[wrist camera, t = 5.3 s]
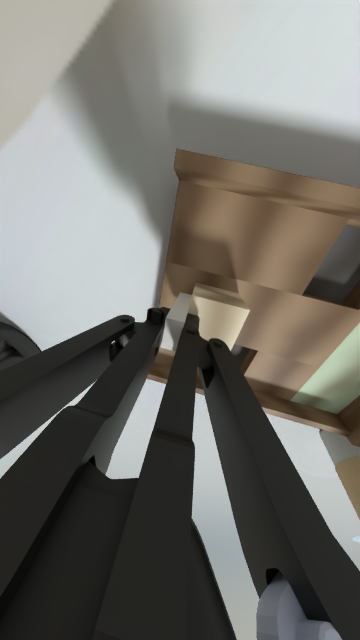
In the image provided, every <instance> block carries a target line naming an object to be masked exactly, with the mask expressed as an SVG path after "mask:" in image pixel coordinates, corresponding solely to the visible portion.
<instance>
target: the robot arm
mask: <svg viewBox="0 0 360 640" xmlns="http://www.w3.org/2000/svg"><path fill="white" fill-rule="evenodd" d="M191 297H192V295H190V294H186V293H182V292H180V294H179V295H178V297H177V299H176V301H175V303H174V304H173V306H172V308H171V309H170V308H166V307H161V308H150V309H148V312H147V320H146V321H145V322H144V323H140V322H135V319H134V318H133V317H132V316H129V315H120V316H117V317H115V318H113V319H111V320H108V321H106V322H104V323H102V324H100V325H98V326H96V327H93V328H91V329H89V330H87V331H85V332H83V333H81V334H78V335H76V336H74V337H72V338H70V339H68V340H66V341H63V342H61V343H59V344H57V345H55V346H53V347H51V348H48V349H46V350H44V351H42V352H40V350H39V349H38V348H37V346H36V345H35V344H34V343H33V342H32V341H31V340H30V339H29V338H27V337H26V336H25V335H24V334H22V333H21V332H19V331H18V330H16V329H14V328H12V327H10V326H8V325H5V324H2V323H0V459H1V458H2V457H4V456H5V455H6V454H7V453H9V452H10V451H11V450H12V449H13V448H15V447H16V446H17V445H18V444H20V443H21V442H22V441H23V440H24V439H26V438H27V437H28V436H29V435H30V434H32V433H33V432H34V431H35V430H37V428H39V427H40V426H41V425H43V424H44V423H45V422H46V421H48V420H49V419H50V418H51V417H52V416H54V415H55V414H56V413H57V412H58V411H60V410H61V409H62V408H63V407H64V406H66V405H67V404H68V403H69V402H70V401H72V400H73V399H74V398H75V397H77V396H78V395H79V394H80V393H82V392H83V391H84V390H85V389H86V388H88V387H89V386H90V385H91V384H92V383H94V382H95V381H96V380H97V379H98V380H97V381H96V382H95V383H94V384H93V386H92V387H91V388H90V389H89V391H88V392H87V393H86V394H85V395H84V397H83V398H82V399H81V400H80V401H79V402H78V403H77V404H76V405H75V406H68V407H66V408H64V409H63V410H62V411H61V412H60V413H59V414H58V415H56V417H55V418H54V419H53V420H52V421H51V422H50V423H49V425H48V426H47V427H46V428H45V429H44V430H43V431H42V433H40V435H39V436H38V437H37V438H36V439H35V440H34V441H33V442H32V444H31V445H30V446H29V447H28V448H27V449H26V450H25V452H24V453H23V454H22V455H21V456H20V457H19V458H18V459H17V461H16V462H15V463H14V464H13V465H12V466H11V467H10V469H9V470H8V471H7V472H6V473H5V474H4V475H3V476H2V478H1V479H0V640H237V639H236V636H235V633H234V630H233V627H232V624H231V622H230V619H229V616H228V613H227V610H226V607H225V604H224V601H223V598H222V596H221V593H220V590H219V587H218V584H217V581H216V578H215V575H214V572H213V569H212V566H211V564H210V561H209V558H208V555H207V552H206V549H205V546H204V543H203V541H202V538H201V536H200V533H199V531H198V529H197V527H196V525H195V523H194V521H193V519H192V518H191V517H192V499H193V479H194V461H195V446H194V443H193V441H192V432H193V418H194V405H195V391H196V377H197V367H199V374H200V378H201V382H202V387H203V391H204V395H205V399H206V403H207V407H208V412H209V416H210V420H211V424H212V428H213V432H214V436H215V441H216V445H217V449H218V453H219V457H220V461H221V465H222V470H223V474H224V478H225V482H226V486H227V491H228V495H229V499H230V503H231V507H232V511H233V516H234V520H235V524H236V528H237V531H238V535H239V539H240V542H241V546H242V550H243V553H244V556H245V559H246V562H247V565H248V568H249V571H250V574H251V577H252V580H253V583H254V586H255V588H256V591H257V594H258V596H259V599H260V600H259V602H258V609H257V640H360V571H359V570H358V568H357V567H356V566H355V564H354V563H353V561H352V560H351V559H350V557H349V556H348V555H347V553H346V552H345V551H344V550H343V548H342V547H341V545H340V544H339V543H338V541H337V540H336V539H335V537H334V536H333V535H332V533H331V531H330V529H329V528H328V526H327V524H326V522H325V520H324V518H323V517H322V515H321V513H320V511H319V509H318V508H317V506H316V504H315V503H314V501H313V499H312V497H311V495H310V493H309V491H308V490H307V488H306V486H305V484H304V483H303V481H302V479H301V477H300V475H299V473H298V472H297V470H296V468H295V466H294V464H293V463H292V461H291V459H290V457H289V456H288V454H287V452H286V450H285V448H284V447H283V445H282V443H281V441H280V439H279V438H278V436H277V434H276V432H275V430H274V429H273V427H272V425H271V423H270V421H269V420H268V418H267V416H266V414H265V412H264V411H263V409H262V407H261V405H260V403H259V402H258V400H257V398H256V396H255V394H254V393H253V391H252V389H251V387H250V385H249V384H248V382H247V380H246V378H245V376H244V375H243V373H242V371H241V369H240V367H239V366H238V364H237V362H236V360H235V358H234V357H233V355H232V353H231V351H230V349H229V348H228V346H227V344H226V343H225V342H224V341H222V340H221V339H217V338H211V339H209V341H207V340H205V339H203V338H202V337H201V336H200V333H199V321H200V318H199V316H197V315H193V314H189V313H188V309H189V304H190V301H191ZM114 340H115V342H114V343H112V342H113V341H114ZM160 345H161V348H164V349H168V350H172V351H175V356H174V359H173V363H172V366H171V370H170V373H169V377H168V380H167V383H166V387H165V390H164V394H163V397H162V401H161V404H160V408H159V411H158V415H157V418H156V422H155V425H154V429H153V431H152V434H151V437H150V441H149V444H148V448H147V451H146V455H145V458H144V462H143V465H142V469H141V472H140V475H139V478H130V479H110V478H108V477H107V476H106V475H105V474H106V471H107V469H108V466H109V463H110V460H111V456H112V453H113V451H114V448H115V446H116V444H117V442H118V439H119V437H120V435H121V433H122V431H123V429H124V426H125V424H126V422H127V420H128V418H129V415H130V413H131V411H132V409H133V407H134V405H135V402H136V400H137V398H138V396H139V394H140V391H141V389H142V387H143V385H144V383H145V380H146V378H147V376H148V374H149V372H150V370H151V367H152V365H153V363H154V361H155V359H156V356H157V354H158V352H159V347H160Z"/></svg>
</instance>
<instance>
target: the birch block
mask: <svg viewBox="0 0 360 640" xmlns="http://www.w3.org/2000/svg"><path fill="white" fill-rule="evenodd" d="M249 312H250V309H249V308H248V306H247V305H246V303H245V302H244V300H243V299H242V297H241V296H240V294H239V293H235V292H232V291H228V290H224V289H220V288H216V287H212V286H208V285H204V284H200V283H195V287H194V290H193V293H192V297H191V301H190V304H189V309H188V313H189V314H193V315H197V316H199V318H200V321H199V333H200V336H201V337H202V338H203V339H205V340H207V341H209V339H211V338H217V339H221V340H222V341H224V342H225V343H226V344H227V346H228V348H229V349H230V351H231V349H232V347H233V345H234V343H235V341H236V339H237V337H238V335H239V333H240V330H241V328H242V326H243V324H244V322H245V320H246V318H247V316H248V314H249Z"/></svg>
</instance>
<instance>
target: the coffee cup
mask: <svg viewBox="0 0 360 640" xmlns="http://www.w3.org/2000/svg"><path fill="white" fill-rule="evenodd" d="M320 436H321V438H322V440H323V442H324V445H325V447H326V449H327V451H328V453H329V455H330V457H331V459H332V461H333V463H334V465H335V469H336V472H337V474H338V476H339V478H340V480H341V482H342V484H343V486H344V488H345V490H346V492H347V494H348V496H349V499H350V501H351V502H352V505H353V507H354V509H355V511H356V513H357V515H358V517H359V519H360V447H357V446H354V445H352V444H351V443H350V441H349V440H348V439H347V437H346V436H343V435H339V434H336V433H332V432H329V431H326V430H322V431H321V433H320Z"/></svg>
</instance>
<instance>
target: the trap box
mask: <svg viewBox="0 0 360 640" xmlns="http://www.w3.org/2000/svg"><path fill="white" fill-rule="evenodd" d="M174 169H175V171H176V174H177V176H178V178H179V185H178V191H177V198H176V204H175V210H174V216H173V222H172V229H171V235H170V241H169V247H168V253H167V260H166V266H165V272H164V278H163V285H162V291H161V297H160V303H159V308H161V307H166V308H170V309H171V308H172V306H173V304H174V303H175V301H176V299H177V297H178V295H179V294H180V292H182V293H186V294H190V295H192V293H193V290H194V287H195V283H200V284H204V285H208V286H212V287H216V288H220V289H224V290H228V291H232V292H235V293H239V294H240V296H241V297H242V299H243V300H244V302H245V303H246V305H247V306H248V308H249V309H250V312H249V314H248V316H247V318H246V320H245V322H244V324H243V326H242V328H241V330H240V333H239V335H238V337H237V339H236V341H235V343H234V345H233V347H232V349H231V353H232V355H233V357H234V358H235V360H236V362H237V364H238V366H239V367H240V369H241V371H242V373H243V375H244V376H245V378H246V380H247V382H248V384H249V385H250V387H251V389H252V391H253V393H254V394H255V396H256V398H257V400H258V402H259V403H260V405H261V407H262V409H263V411H264V412H265V413H267V414H270V415H274V416H277V417H281V418H284V419H288V420H291V421H295V422H298V423H301V424H305V425H308V426H312V427H315V428H319V429H322V430H326V431H329V432H332V433H336V434H339V435H343V436H346V437H347V439H348V440H349V441H350V443H351V444H352V445H354V446H357V447H360V188H356V187H352V186H347V185H342V184H338V183H333V182H328V181H324V180H319V179H314V178H310V177H305V176H301V175H296V174H291V173H287V172H282V171H277V170H273V169H268V168H263V167H259V166H254V165H250V164H245V163H240V162H236V161H231V160H226V159H222V158H217V157H212V156H208V155H203V154H198V153H194V152H189V151H185V150H180V149H176V156H175V163H174ZM174 356H175V351H172V350H168V349H164V348H161V345H160V347H159V352H158V354H157V356H156V359H155V361H154V363H153V365H152V367H151V370H150V372H149V374H148V376H147V379H150V380H154V381H157V382H160V383H164V384H166V383H167V380H168V377H169V373H170V370H171V366H172V363H173V359H174ZM195 393H198V394H202V395H204V391H203V387H202V382H201V378H200V374H199V367H197V377H196V391H195Z"/></svg>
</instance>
